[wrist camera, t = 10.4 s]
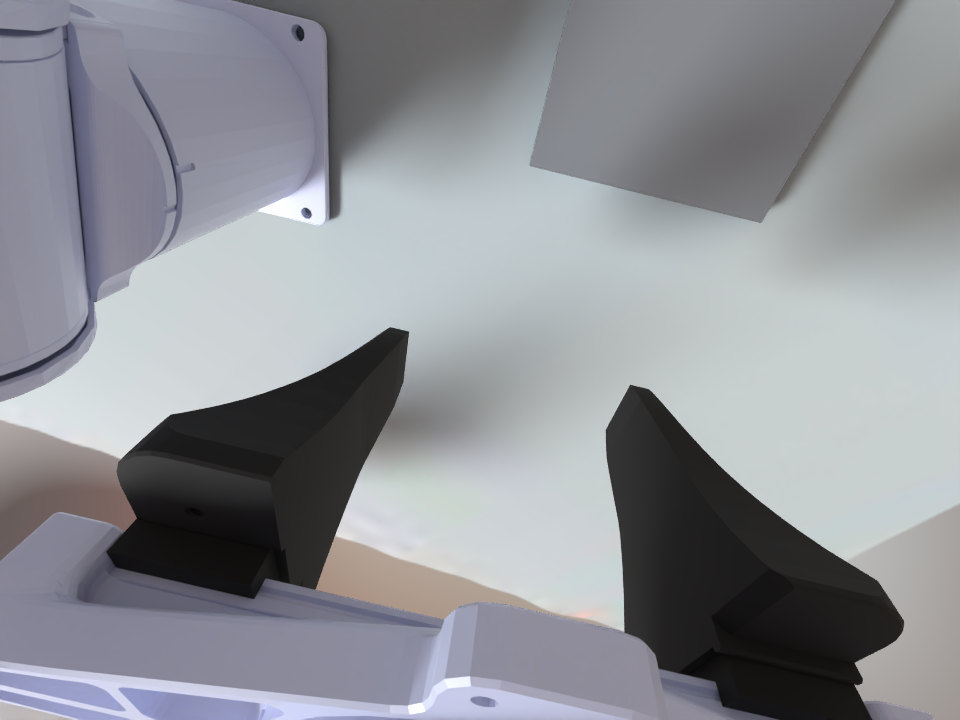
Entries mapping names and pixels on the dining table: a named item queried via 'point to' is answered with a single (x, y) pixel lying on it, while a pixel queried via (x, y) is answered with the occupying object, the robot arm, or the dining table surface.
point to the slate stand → (698, 94)
